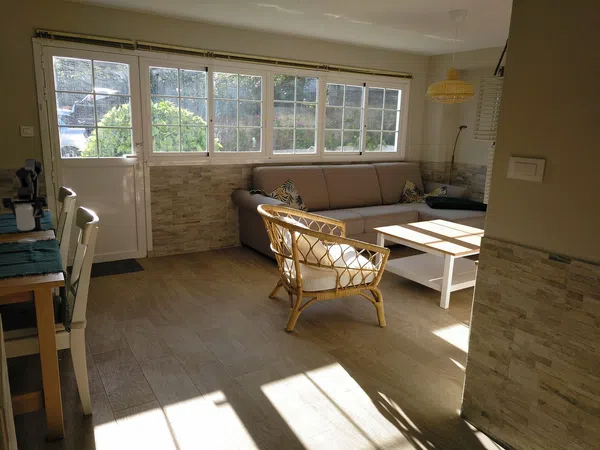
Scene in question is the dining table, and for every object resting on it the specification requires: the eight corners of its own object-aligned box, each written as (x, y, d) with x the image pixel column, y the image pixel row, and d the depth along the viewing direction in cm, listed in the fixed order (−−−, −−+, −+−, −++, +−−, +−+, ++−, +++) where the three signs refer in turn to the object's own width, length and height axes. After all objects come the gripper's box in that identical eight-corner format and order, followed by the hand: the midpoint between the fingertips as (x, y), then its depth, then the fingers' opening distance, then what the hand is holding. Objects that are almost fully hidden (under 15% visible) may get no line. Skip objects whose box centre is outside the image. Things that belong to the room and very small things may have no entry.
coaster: (19, 240, 226) (19, 238, 226) (37, 238, 229) (37, 237, 229) (16, 244, 219) (16, 242, 219) (35, 243, 222) (35, 241, 222)
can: (27, 231, 219) (24, 207, 216) (13, 230, 220) (10, 205, 217) (38, 228, 226) (36, 204, 223) (25, 226, 227) (23, 203, 224)
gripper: (0, 180, 217) (-3, 208, 210) (44, 180, 224) (43, 206, 217) (5, 194, 226) (3, 220, 219) (48, 193, 233) (47, 219, 226)
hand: (24, 216), depth 220 cm, fingers closed on can, 7 cm apart
